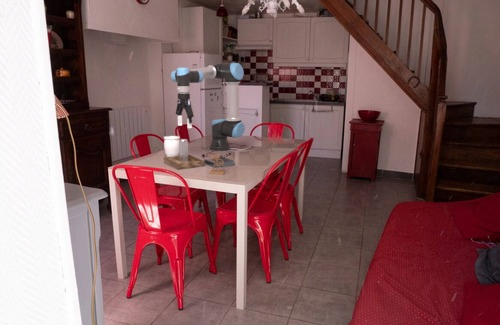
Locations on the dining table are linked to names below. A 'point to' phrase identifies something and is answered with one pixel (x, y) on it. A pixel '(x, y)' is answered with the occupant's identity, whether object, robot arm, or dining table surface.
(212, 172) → the tan ornamental figurine
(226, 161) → the hitch block
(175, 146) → the jar
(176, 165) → the tray
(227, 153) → the dining table surface
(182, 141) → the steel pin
